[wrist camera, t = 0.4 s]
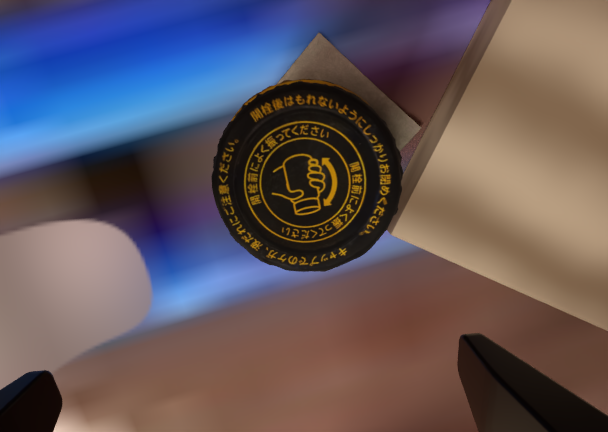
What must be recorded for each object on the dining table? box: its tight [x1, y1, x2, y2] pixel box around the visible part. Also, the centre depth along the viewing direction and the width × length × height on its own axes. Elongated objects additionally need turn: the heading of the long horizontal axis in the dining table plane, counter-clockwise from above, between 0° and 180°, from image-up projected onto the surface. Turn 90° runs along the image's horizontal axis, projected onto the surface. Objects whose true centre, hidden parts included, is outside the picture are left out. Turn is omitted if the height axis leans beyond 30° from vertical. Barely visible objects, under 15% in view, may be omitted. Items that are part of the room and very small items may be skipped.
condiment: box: [212, 33, 421, 271], centre depth 17 cm, size 7×8×12 cm
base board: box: [387, 0, 608, 331], centre depth 21 cm, size 16×16×3 cm
